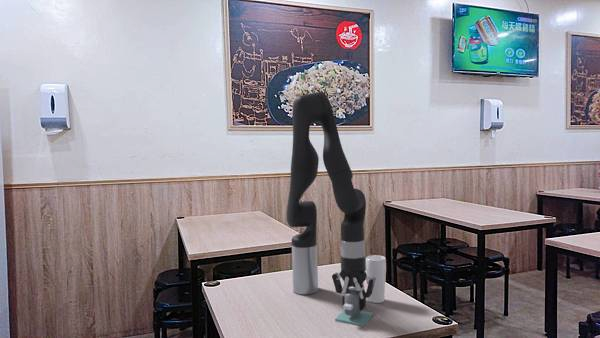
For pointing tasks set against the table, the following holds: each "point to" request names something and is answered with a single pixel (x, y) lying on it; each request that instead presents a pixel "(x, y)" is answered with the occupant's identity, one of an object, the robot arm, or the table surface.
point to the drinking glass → (377, 276)
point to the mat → (354, 318)
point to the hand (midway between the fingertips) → (354, 307)
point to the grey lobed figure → (352, 302)
